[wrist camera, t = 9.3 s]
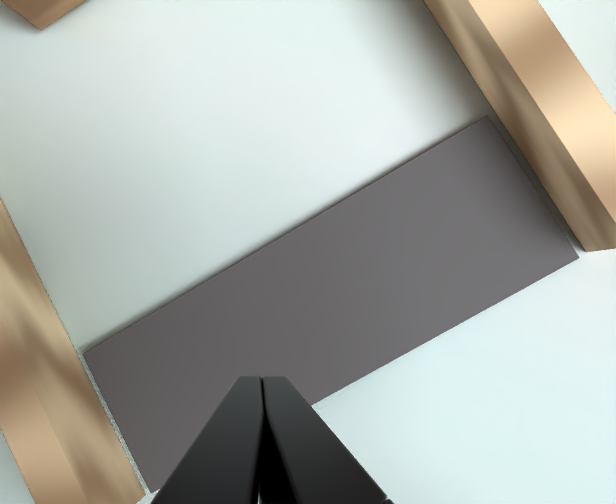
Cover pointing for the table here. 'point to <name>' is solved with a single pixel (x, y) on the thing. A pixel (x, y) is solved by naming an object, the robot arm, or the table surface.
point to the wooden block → (42, 10)
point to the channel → (510, 109)
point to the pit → (335, 294)
